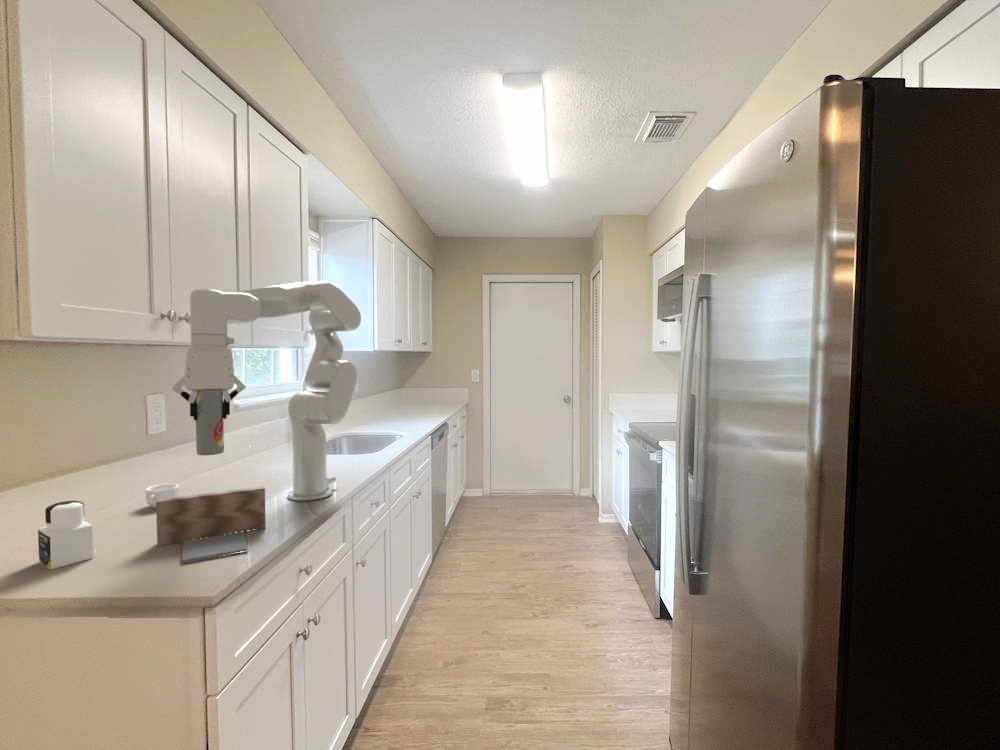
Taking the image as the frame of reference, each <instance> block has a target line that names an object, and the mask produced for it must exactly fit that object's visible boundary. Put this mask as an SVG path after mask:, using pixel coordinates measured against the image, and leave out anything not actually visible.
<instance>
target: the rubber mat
mask: <svg viewBox="0 0 1000 750" xmlns="http://www.w3.org/2000/svg"><path fill="white" fill-rule="evenodd" d="M244 533H245V532H237V533H231V534H225V535H219V536H213V537H207V538H201V539H194V540H188V541H183V542H182V543H183V544H182V556H181V557H182V558H181V564H182V565H186V564H189V563H190V562H191V563H195V562H202V561H207V560H211V558H213V559H216V558H215V557H218V558H220V557H219V556H223V555H228V554H231V553H235V552H240V551H246V550H248V549H249V547H248V544H247V541H246V536H245V534H244ZM248 551H249V550H248ZM206 559H207V560H206ZM185 563H186V564H185Z"/></svg>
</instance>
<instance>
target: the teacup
mask: <svg viewBox="0 0 1000 750" xmlns="http://www.w3.org/2000/svg"><path fill="white" fill-rule="evenodd" d="M179 488H180V486H179V484H177V483H160V484H157V485H155V484H154V485H151V486H148V487H146V488H145V498H146V499H145V500H146V502H147V504H148V506H149V507H150V508H153V507H154V508H153V509H156V501H157V500H159V499H167V498H175V497H179V493H180V492H179V491H180V490H179Z"/></svg>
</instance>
